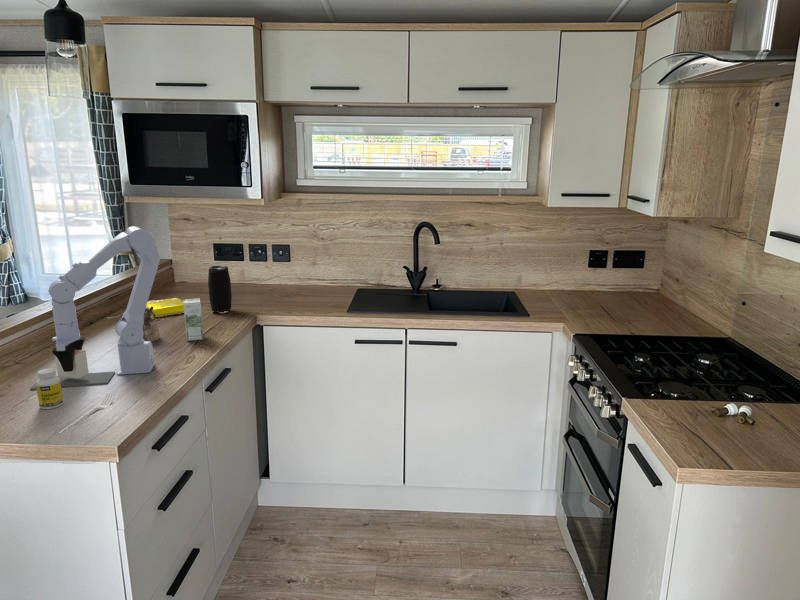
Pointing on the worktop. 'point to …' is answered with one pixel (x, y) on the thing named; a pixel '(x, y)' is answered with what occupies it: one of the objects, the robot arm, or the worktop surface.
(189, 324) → the syrup box
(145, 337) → the figurine
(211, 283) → the portable speaker
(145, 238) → the robot arm
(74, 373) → the card box
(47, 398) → the supplement bottle
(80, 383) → the rubber mat
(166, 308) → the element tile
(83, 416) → the fork
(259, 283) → the worktop surface
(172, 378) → the worktop surface
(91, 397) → the worktop surface
